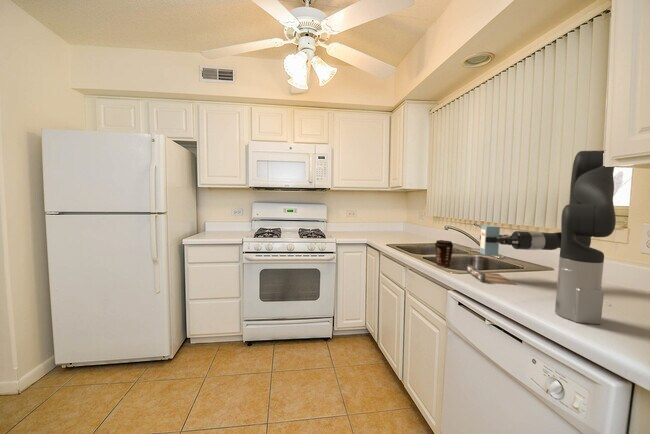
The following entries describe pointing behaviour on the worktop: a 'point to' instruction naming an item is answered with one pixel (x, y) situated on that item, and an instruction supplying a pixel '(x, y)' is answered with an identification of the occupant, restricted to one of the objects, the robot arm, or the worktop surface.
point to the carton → (489, 247)
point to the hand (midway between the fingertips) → (483, 238)
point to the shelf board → (488, 276)
